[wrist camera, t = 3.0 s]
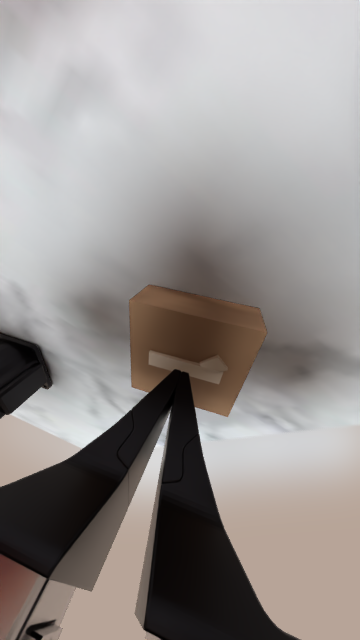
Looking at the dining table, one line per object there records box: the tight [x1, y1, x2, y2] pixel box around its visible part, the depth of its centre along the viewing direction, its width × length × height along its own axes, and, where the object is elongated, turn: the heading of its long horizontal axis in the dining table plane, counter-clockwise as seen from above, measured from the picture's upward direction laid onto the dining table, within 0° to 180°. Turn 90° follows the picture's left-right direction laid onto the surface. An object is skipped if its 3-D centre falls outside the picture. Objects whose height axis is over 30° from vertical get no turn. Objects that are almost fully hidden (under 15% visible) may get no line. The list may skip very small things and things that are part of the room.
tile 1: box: [129, 285, 267, 417], centre depth 12 cm, size 7×7×3 cm
